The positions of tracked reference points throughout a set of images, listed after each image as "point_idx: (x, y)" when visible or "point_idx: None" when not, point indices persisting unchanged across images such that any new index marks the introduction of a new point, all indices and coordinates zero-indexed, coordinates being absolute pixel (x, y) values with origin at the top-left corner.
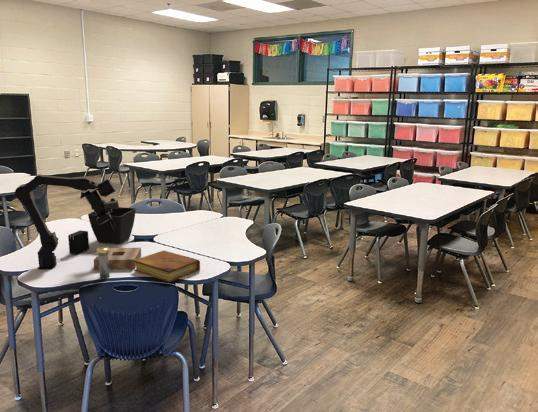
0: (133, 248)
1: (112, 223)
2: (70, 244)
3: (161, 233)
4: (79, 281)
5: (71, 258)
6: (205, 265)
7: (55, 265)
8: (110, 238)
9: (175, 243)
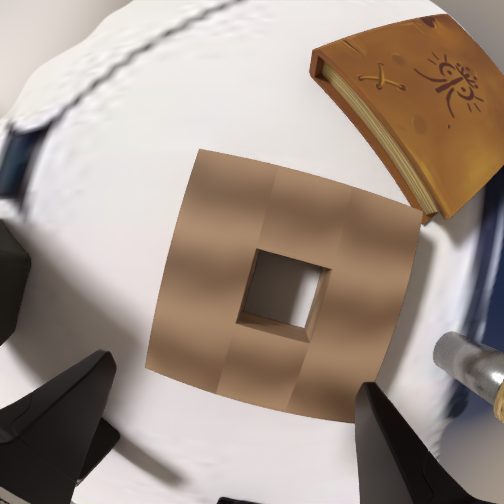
0: (203, 192)
1: (82, 392)
2: (95, 466)
3: (7, 115)
4: (438, 425)
5: (159, 456)
6: (390, 6)
7: (238, 501)
8: (10, 295)
9: (108, 50)
